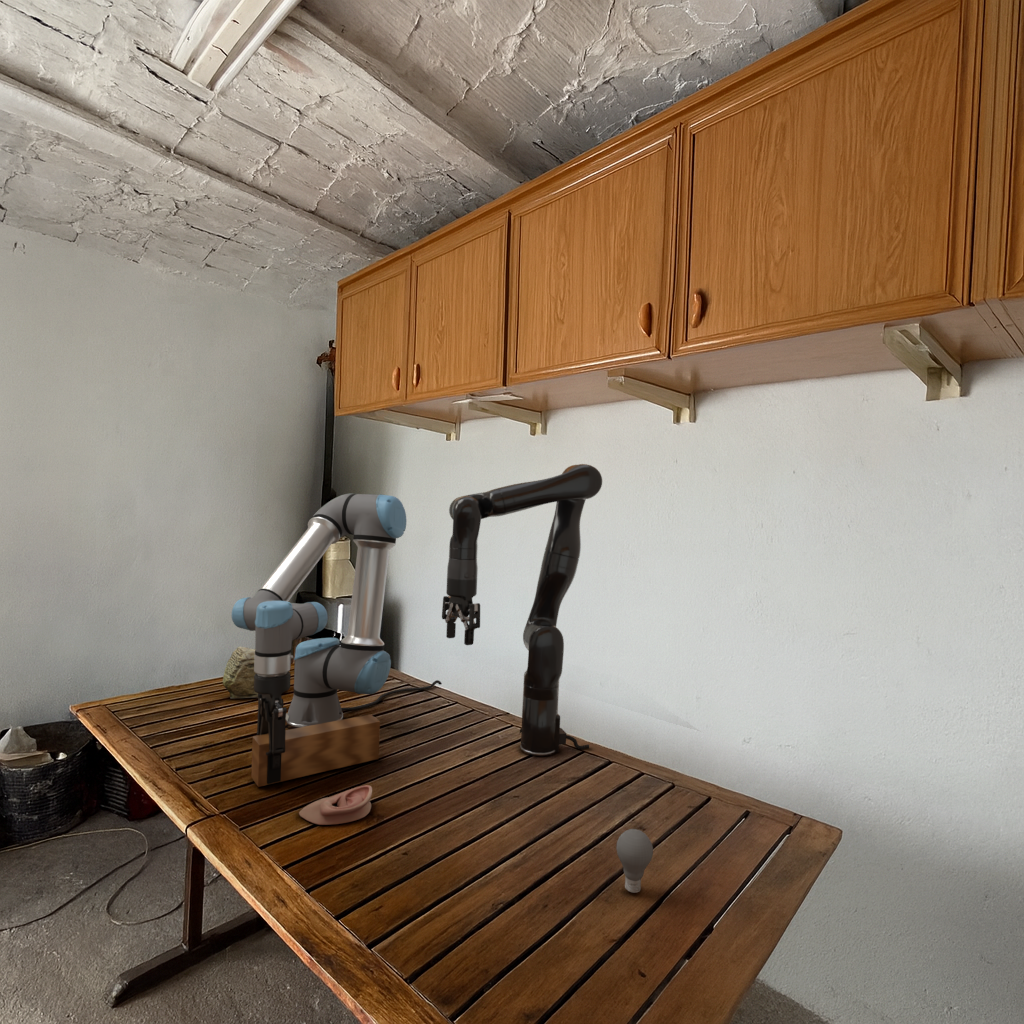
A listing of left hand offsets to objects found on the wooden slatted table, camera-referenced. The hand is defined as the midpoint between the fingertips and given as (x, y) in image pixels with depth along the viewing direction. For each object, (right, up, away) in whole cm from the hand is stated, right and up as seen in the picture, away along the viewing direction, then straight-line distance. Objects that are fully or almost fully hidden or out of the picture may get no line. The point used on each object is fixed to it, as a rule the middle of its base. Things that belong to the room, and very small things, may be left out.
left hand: (269, 776), depth 140 cm
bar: (+9, -1, +6) cm, 11 cm away
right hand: (+41, +26, +18) cm, 51 cm away
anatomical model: (+18, -2, -12) cm, 22 cm away
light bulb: (+74, -5, -34) cm, 81 cm away
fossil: (-27, +1, +58) cm, 64 cm away
